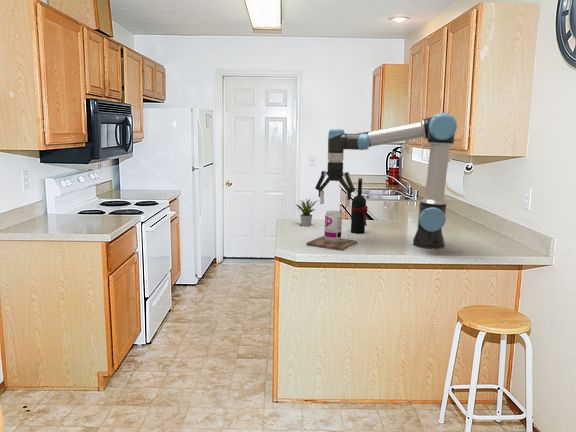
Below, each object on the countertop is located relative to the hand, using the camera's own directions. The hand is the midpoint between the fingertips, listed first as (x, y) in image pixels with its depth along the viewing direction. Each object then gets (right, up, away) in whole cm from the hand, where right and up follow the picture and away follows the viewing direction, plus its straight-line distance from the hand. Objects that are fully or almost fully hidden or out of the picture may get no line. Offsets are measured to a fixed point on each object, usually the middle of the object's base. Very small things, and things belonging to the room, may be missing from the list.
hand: (334, 205), depth 251 cm
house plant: (-11, -11, +49) cm, 52 cm away
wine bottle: (+16, -15, +31) cm, 38 cm away
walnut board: (-1, -19, +4) cm, 20 cm away
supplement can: (-1, -18, +3) cm, 19 cm away
